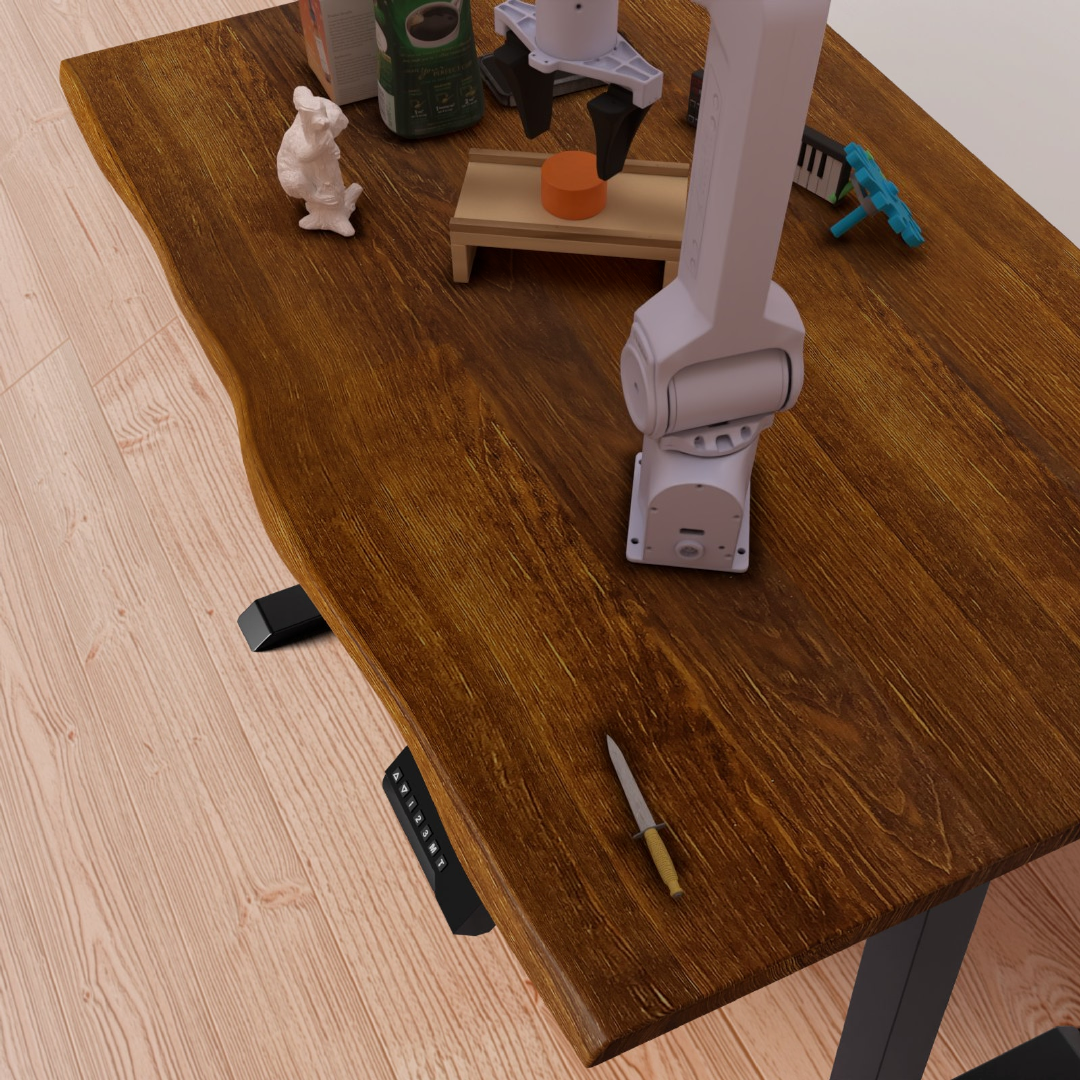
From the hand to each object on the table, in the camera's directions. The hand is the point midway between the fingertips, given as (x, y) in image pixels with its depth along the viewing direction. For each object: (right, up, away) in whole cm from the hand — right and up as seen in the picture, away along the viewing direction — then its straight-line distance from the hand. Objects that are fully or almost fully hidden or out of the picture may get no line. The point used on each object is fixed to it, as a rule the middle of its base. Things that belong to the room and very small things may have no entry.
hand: (573, 153), depth 89 cm
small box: (-21, +15, +23) cm, 35 cm away
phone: (-1, +16, +24) cm, 29 cm away
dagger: (+3, -45, -23) cm, 51 cm away
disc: (0, -3, +4) cm, 4 cm away
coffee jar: (-13, +10, +20) cm, 25 cm away
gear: (+25, -4, +9) cm, 27 cm away
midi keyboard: (+17, +4, +15) cm, 23 cm away
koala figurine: (-21, -2, +10) cm, 23 cm away
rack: (0, -6, +7) cm, 9 cm away
